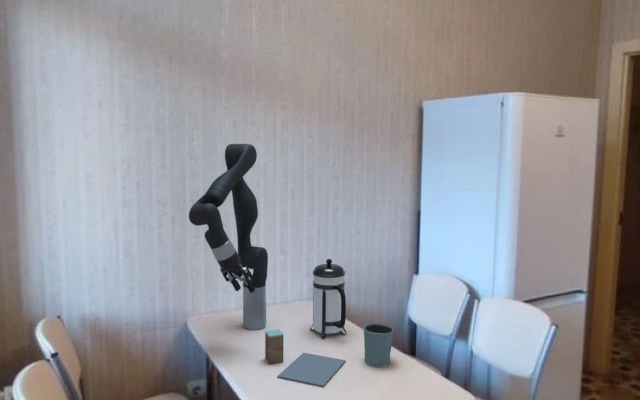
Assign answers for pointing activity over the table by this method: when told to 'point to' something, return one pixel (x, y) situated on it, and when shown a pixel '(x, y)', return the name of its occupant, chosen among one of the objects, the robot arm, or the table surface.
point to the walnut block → (274, 346)
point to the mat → (312, 369)
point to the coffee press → (329, 299)
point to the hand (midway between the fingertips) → (245, 290)
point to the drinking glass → (377, 344)
